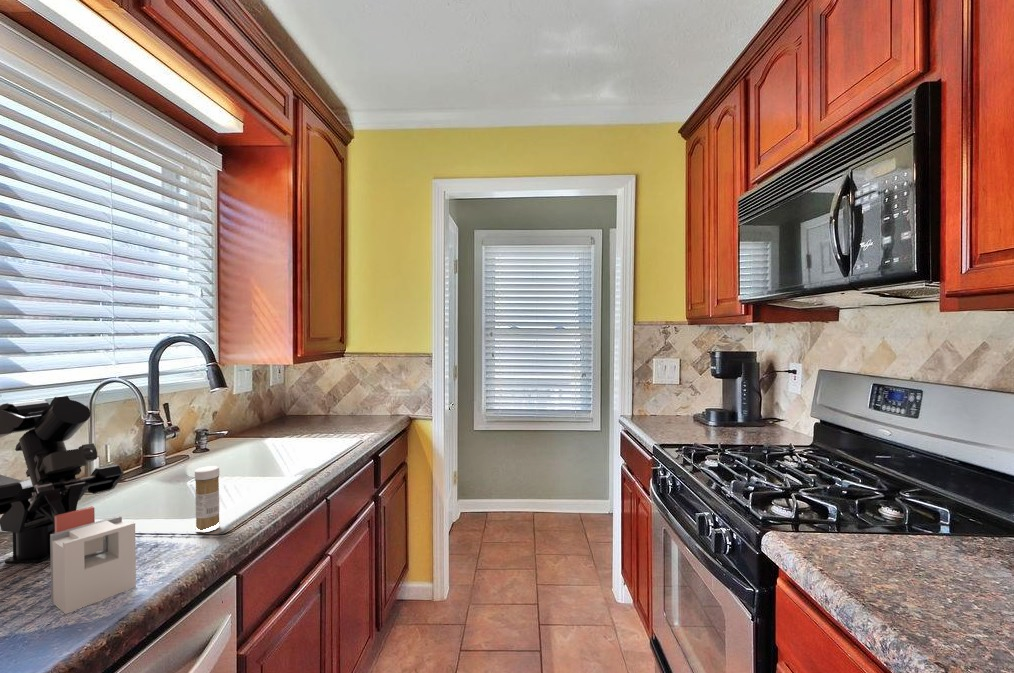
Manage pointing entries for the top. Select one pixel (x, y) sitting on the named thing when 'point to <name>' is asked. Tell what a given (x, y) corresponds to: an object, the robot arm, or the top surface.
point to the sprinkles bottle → (207, 496)
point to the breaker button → (77, 520)
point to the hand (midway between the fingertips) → (70, 529)
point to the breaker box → (92, 563)
